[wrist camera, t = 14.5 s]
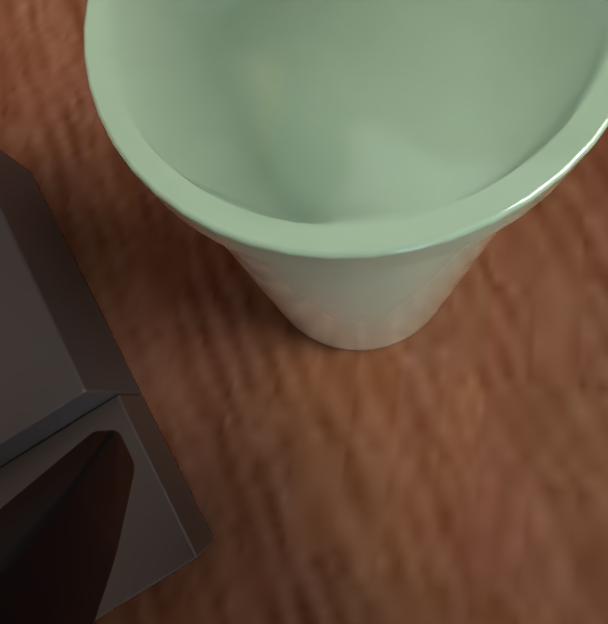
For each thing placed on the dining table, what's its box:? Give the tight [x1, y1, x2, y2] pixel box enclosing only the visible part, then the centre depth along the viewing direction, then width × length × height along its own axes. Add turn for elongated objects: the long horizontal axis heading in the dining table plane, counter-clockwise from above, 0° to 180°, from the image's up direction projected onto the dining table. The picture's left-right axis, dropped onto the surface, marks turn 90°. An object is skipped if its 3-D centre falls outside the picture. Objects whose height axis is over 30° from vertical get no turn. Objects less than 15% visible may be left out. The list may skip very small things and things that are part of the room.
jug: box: [83, 0, 608, 350], centre depth 10 cm, size 9×6×10 cm
